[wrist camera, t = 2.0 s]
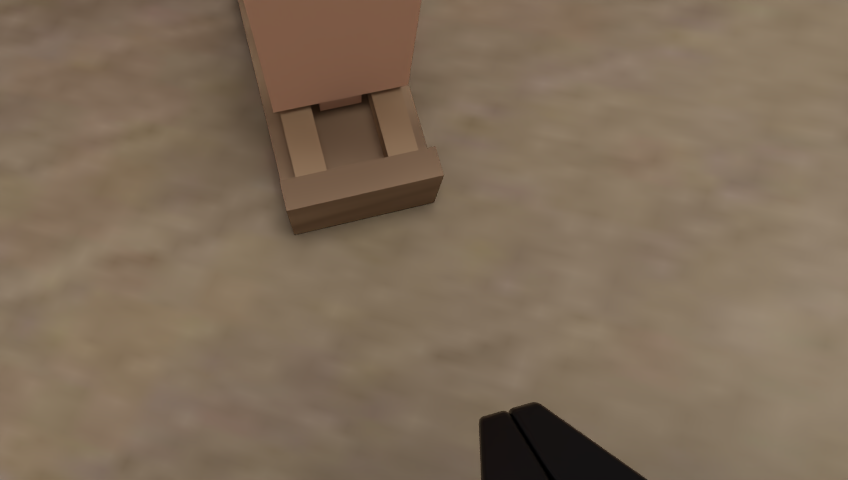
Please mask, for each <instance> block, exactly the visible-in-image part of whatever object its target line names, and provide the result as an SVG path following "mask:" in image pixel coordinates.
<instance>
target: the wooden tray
mask: <svg viewBox="0 0 848 480" xmlns="http://www.w3.org/2000/svg"><path fill="white" fill-rule="evenodd" d="M238 3H239V7H240V12H241V16H242V20H243V24H244V29H245V33H246V37H247V41H248V45H249V50H250V54H251V58H252V62H253V67H254V71H255V75H256V79H257V84H258V88H259V92H260V96H261V100H262V105H263V109H264V113H265V117H266V122H267V126H268V130H269V134H270V138H271V143H272V147H273V151H274V155H275V160H276V164H277V168H278V172H279V176H280V185H281V190H282V194H283V198H284V202H285V206H286V211H287V214H288V217H289V220H290V223H291V226H292V229H293V232H294V235H296V234H301V233H305V232H309V231H313V230H318V229H322V228H326V227H331V226H335V225H339V224H343V223H348V222H352V221H356V220H360V219H365V218H369V217H373V216H377V215H382V214H386V213H390V212H395V211H399V210H403V209H407V208H412V207H416V206H420V205H424V204H429V203H433V202H434V201H435V198H436V196H437V193H438V190H439V187H440V184H441V182H442V179H443V176H444V174H443V171H442V167H441V164H440V160H439V157H438V154H437V150H436V147H435V146H434V147H430V148H427V145H426V142H425V138H424V135H423V132H422V128H421V125H420V121H419V118H418V114H417V111H416V108H415V104H414V101H413V97H412V94H411V90H410V87H409V83H408V85H406V86H401V87H396V88H392V89H387V90H382V91H377V92H372V93H367V94H362V97H361V103H357V104H352V105H347V106H342V107H338V108H333V109H328V110H323V111H320V107H319V104H314V105H309V106H304V107H299V108H294V109H289V110H284V111H280V112H275V113H273V109H272V105H271V102H270V98H269V94H268V90H267V87H266V83H265V79H264V75H263V72H262V68H261V64H260V61H259V57H258V53H257V49H256V46H255V42H254V38H253V34H252V31H251V27H250V23H249V19H248V16H247V12H246V8H245V5H244V1H243V0H238Z"/></svg>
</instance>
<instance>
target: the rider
mask: <svg viewBox="0 0 848 480" xmlns="http://www.w3.org/2000/svg"><path fill="white" fill-rule="evenodd" d="M243 1H244V5H245V8H246V12H247V16H248V19H249V23H250V27H251V31H252V34H253V38H254V42H255V46H256V49H257V53H258V57H259V61H260V64H261V68H262V72H263V75H264V79H265V83H266V87H267V90H268V94H269V98H270V102H271V105H272V109H273V113H275V112H280V111H284V110H289V109H294V108H299V107H304V106H309V105H314V104H319V107H320V111H323V110H328V109H333V108H338V107H342V106H347V105H352V104H357V103H361V97H362V94H367V93H372V92H377V91H382V90H387V89H392V88H396V87H401V86H406V85H408V83H409V76H410V70H411V64H412V57H413V51H414V44H415V38H416V31H417V25H418V19H419V12H420V6H421V0H243Z"/></svg>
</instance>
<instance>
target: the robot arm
mask: <svg viewBox="0 0 848 480" xmlns="http://www.w3.org/2000/svg"><path fill="white" fill-rule="evenodd" d="M479 436H480V461H481V480H647V479H646V478H644V477H643V476H641V475H640V474H639V473H637V472H636V471H634V470H633V469H632V468H630V467H629V466H627V465H626V464H624V463H623V462H622V461H620V460H619V459H617V458H616V457H615V456H613V455H612V454H610V453H609V452H607V451H606V450H605V449H603V448H602V447H600V446H599V445H598V444H596V443H595V442H593V441H592V440H591V439H589V438H588V437H586V436H585V435H583V434H582V433H581V432H579V431H578V430H576V429H575V428H574V427H572V426H571V425H569V424H568V423H566V422H565V421H564V420H562V419H561V418H559V417H558V416H557V415H555V414H554V413H552V412H551V411H549V410H548V409H547V408H545V407H544V406H542V405H541V404H539V403H536V402H532V403H528V404H525V405H521V406H518V407H514V408H512V409H510V411H509V413H508V412H506V411H501V412H497V413H494V414H490V415H487V416H483V417H481V418H480V420H479Z"/></svg>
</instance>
